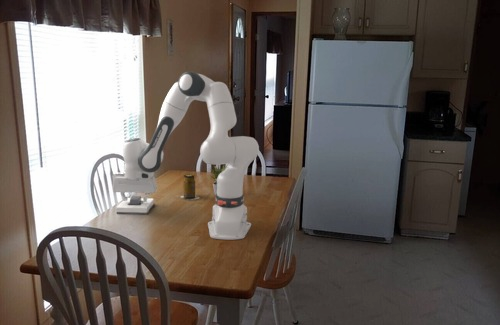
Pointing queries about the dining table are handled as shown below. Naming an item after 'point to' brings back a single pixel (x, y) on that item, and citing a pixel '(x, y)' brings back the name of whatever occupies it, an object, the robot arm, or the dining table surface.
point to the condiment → (189, 187)
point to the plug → (135, 200)
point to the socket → (135, 207)
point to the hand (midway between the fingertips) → (135, 201)
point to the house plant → (216, 173)
